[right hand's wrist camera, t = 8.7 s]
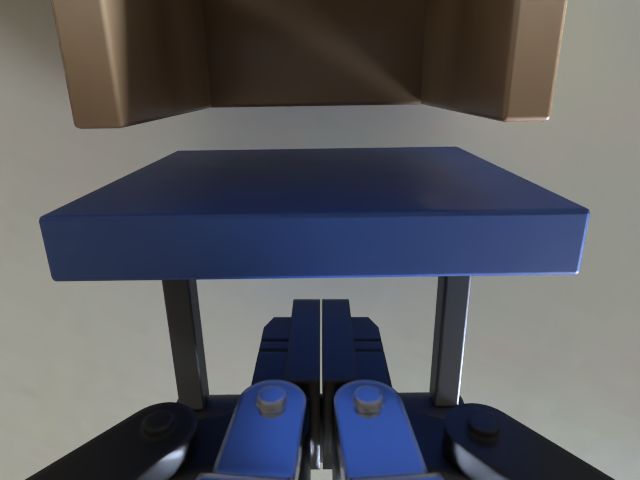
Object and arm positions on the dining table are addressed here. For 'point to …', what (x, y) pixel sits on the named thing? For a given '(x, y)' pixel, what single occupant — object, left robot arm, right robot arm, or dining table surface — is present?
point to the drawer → (312, 157)
